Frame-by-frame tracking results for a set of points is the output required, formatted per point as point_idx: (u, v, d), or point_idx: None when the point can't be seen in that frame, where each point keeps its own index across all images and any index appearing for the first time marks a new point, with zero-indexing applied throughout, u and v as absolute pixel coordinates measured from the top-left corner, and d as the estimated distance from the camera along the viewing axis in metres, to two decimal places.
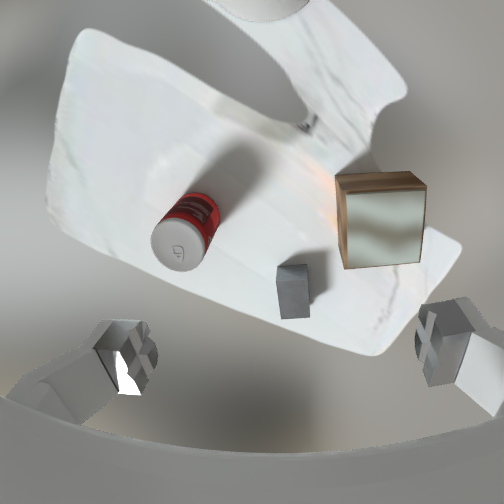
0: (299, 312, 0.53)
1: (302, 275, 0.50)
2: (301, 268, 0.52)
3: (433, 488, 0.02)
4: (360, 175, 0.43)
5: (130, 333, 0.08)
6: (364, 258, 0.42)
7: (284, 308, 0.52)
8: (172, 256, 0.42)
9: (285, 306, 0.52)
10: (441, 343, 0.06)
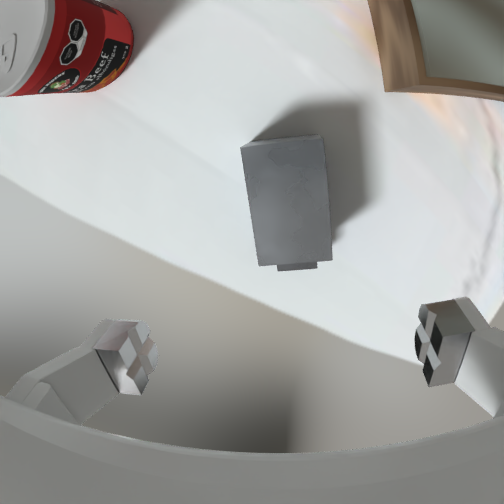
0: (305, 244, 0.20)
1: (309, 138, 0.19)
2: (305, 136, 0.21)
3: (433, 488, 0.02)
4: None
5: (130, 333, 0.08)
6: (463, 54, 0.11)
7: (266, 231, 0.20)
8: None
9: (269, 226, 0.20)
10: (441, 343, 0.06)
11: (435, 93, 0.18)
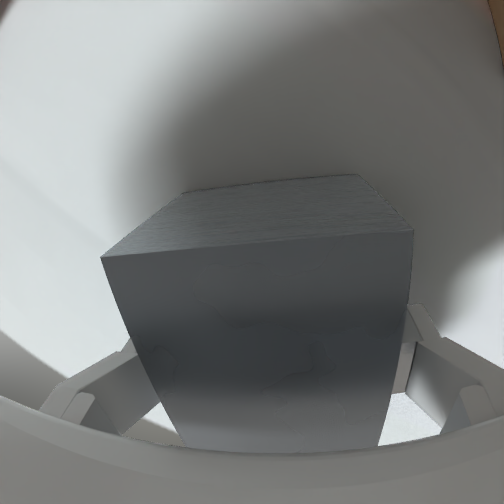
0: None
1: (350, 209, 0.05)
2: (329, 183, 0.07)
3: (433, 488, 0.02)
4: None
5: None
6: None
7: (214, 448, 0.07)
8: None
9: (221, 443, 0.07)
10: None
11: None
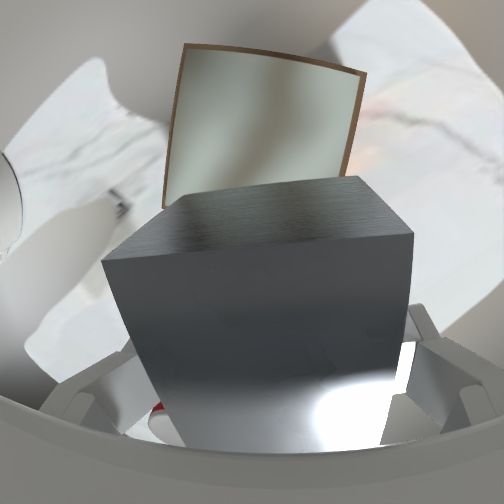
0: None
1: (350, 212, 0.05)
2: (329, 185, 0.07)
3: (433, 488, 0.02)
4: None
5: None
6: None
7: (215, 449, 0.07)
8: None
9: (222, 444, 0.07)
10: None
11: None
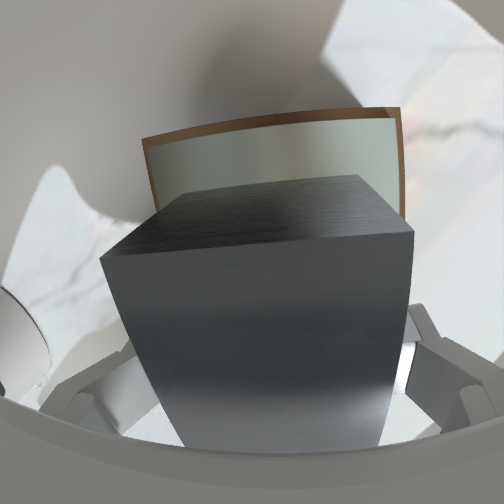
0: None
1: (350, 210, 0.05)
2: (329, 184, 0.07)
3: (433, 488, 0.02)
4: None
5: None
6: None
7: (214, 449, 0.07)
8: None
9: (221, 444, 0.07)
10: None
11: None
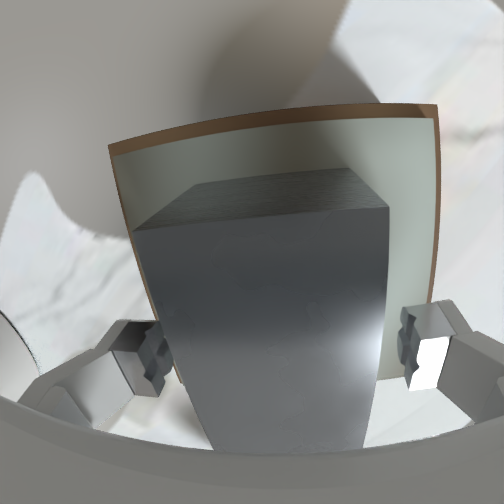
0: (309, 434, 0.08)
1: (339, 193, 0.06)
2: (324, 175, 0.08)
3: (433, 488, 0.02)
4: None
5: (147, 334, 0.08)
6: (388, 341, 0.12)
7: (222, 413, 0.08)
8: None
9: (229, 407, 0.08)
10: (419, 347, 0.06)
11: None
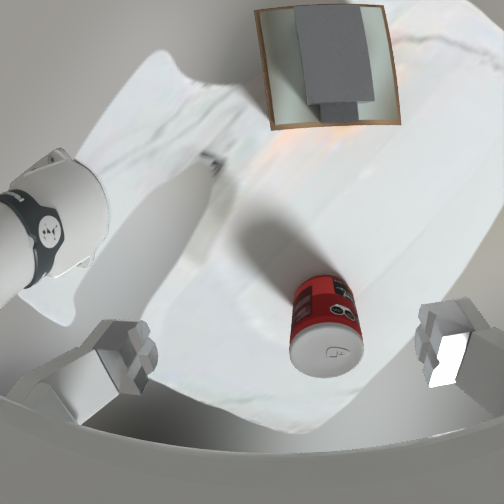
0: (350, 84, 0.20)
1: None
2: None
3: (433, 488, 0.02)
4: None
5: (130, 333, 0.08)
6: (379, 93, 0.23)
7: (315, 71, 0.20)
8: (340, 359, 0.31)
9: (318, 67, 0.19)
10: (441, 343, 0.06)
11: None
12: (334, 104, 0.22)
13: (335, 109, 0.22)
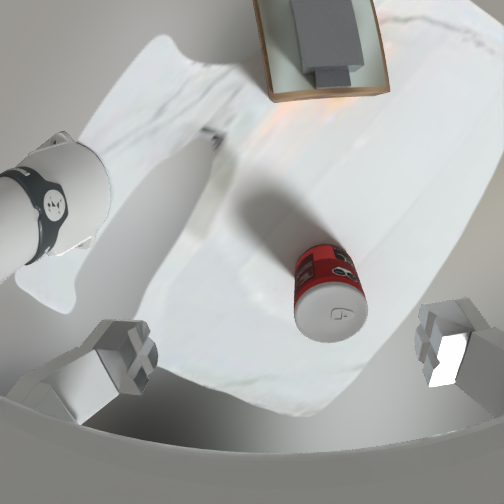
0: (341, 50, 0.21)
1: None
2: None
3: (433, 488, 0.02)
4: None
5: (130, 333, 0.08)
6: (369, 63, 0.24)
7: (309, 40, 0.21)
8: (345, 321, 0.32)
9: (312, 36, 0.20)
10: (441, 343, 0.06)
11: None
12: (327, 70, 0.23)
13: (329, 75, 0.23)
